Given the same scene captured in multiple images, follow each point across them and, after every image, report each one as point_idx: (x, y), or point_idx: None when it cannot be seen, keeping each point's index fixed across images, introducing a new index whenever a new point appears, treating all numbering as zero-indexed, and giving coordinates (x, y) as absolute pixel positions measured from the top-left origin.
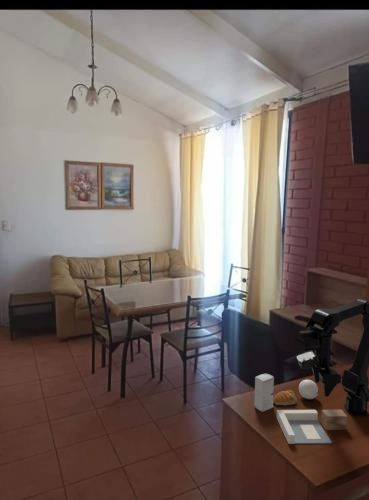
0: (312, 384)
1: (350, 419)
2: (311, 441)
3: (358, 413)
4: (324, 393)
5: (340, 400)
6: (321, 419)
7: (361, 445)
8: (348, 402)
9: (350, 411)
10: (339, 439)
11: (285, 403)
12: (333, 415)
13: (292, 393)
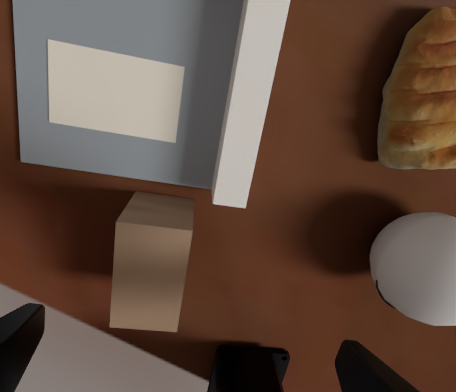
0: (434, 305)
1: (196, 327)
2: (26, 52)
3: (218, 372)
4: (8, 324)
5: (327, 354)
6: (193, 205)
7: (14, 279)
8: (251, 384)
9: (236, 353)
10: (57, 213)
11: (389, 84)
12: (122, 264)
13: (438, 157)
